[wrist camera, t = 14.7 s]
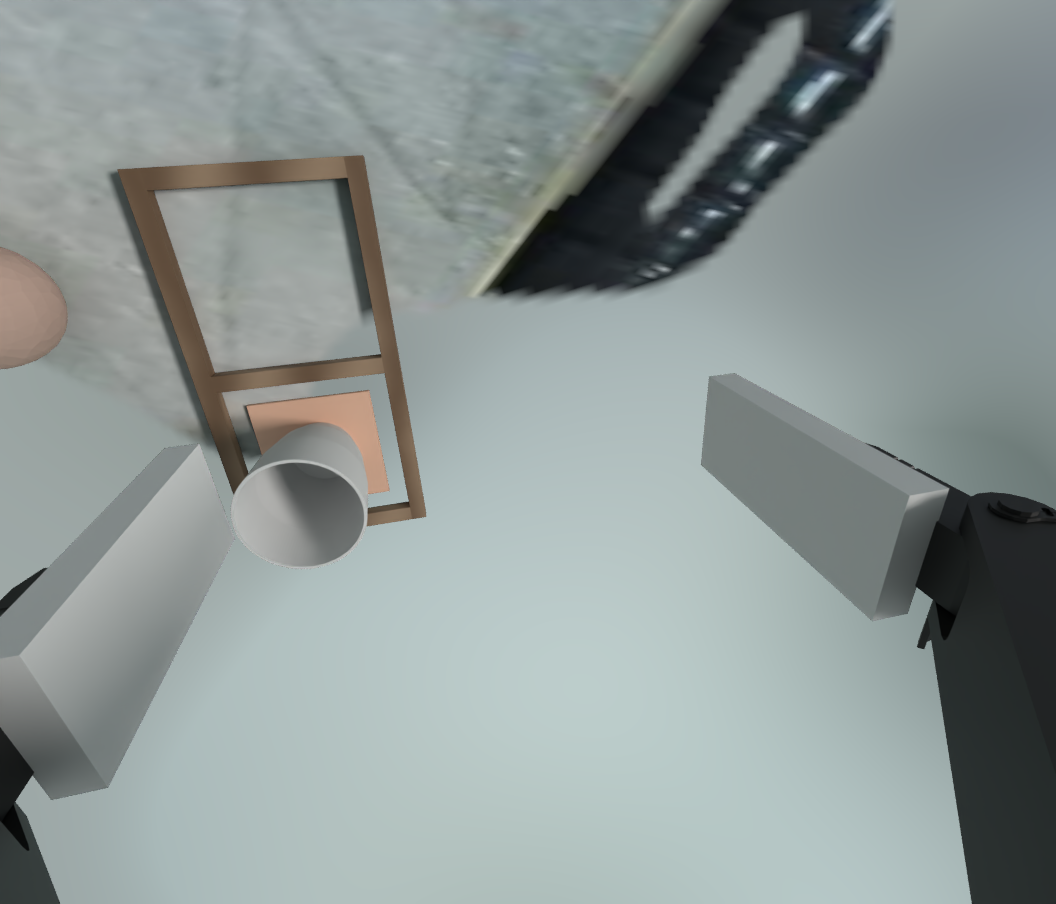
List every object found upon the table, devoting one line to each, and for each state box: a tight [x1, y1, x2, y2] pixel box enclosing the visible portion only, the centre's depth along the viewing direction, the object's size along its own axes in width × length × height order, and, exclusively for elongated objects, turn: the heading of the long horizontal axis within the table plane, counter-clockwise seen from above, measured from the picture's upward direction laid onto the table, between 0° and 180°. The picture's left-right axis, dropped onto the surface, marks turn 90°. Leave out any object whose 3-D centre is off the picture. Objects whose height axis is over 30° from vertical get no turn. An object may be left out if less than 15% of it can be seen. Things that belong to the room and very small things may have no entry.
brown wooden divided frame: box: [117, 155, 426, 526], centre depth 40 cm, size 14×28×1 cm, turn 4°
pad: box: [247, 390, 389, 494], centre depth 43 cm, size 9×9×1 cm
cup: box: [231, 422, 368, 569], centre depth 38 cm, size 8×8×10 cm
